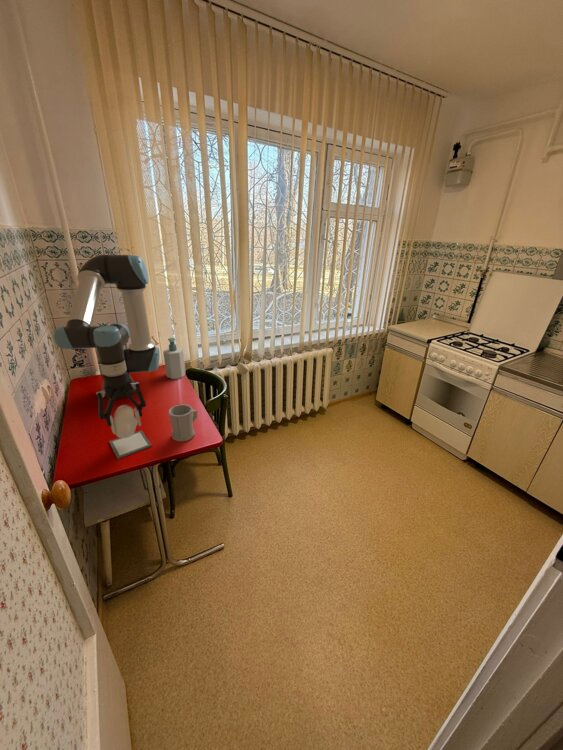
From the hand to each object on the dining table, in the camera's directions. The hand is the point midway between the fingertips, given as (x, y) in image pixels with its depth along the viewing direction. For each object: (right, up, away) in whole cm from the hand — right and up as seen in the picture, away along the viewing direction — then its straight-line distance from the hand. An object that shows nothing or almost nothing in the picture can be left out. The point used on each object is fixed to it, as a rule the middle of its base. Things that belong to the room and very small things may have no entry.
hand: (126, 428), depth 112 cm
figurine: (0, -2, +1) cm, 3 cm away
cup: (+18, -5, +11) cm, 21 cm away
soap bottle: (-2, +19, +60) cm, 63 cm away
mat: (0, -7, +3) cm, 8 cm away
